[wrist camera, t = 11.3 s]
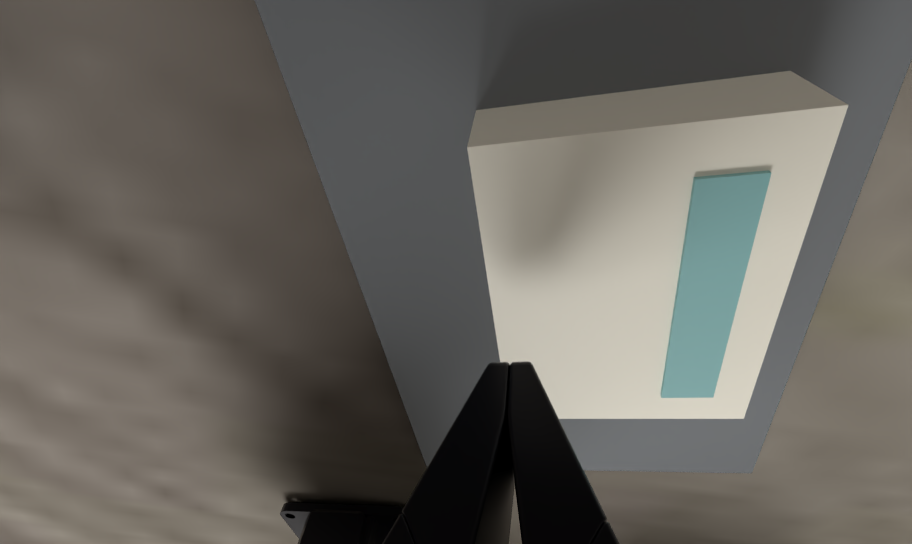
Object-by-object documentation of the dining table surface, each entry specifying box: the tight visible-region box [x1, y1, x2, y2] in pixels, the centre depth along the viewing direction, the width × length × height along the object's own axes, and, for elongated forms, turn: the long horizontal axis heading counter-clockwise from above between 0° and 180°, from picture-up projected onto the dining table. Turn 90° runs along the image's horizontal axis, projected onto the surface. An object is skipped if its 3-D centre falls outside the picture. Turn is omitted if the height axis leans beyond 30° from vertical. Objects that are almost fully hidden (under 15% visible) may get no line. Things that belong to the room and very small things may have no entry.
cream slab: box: [467, 71, 848, 419], centre depth 11 cm, size 8×2×6 cm
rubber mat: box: [255, 0, 912, 473], centre depth 13 cm, size 18×12×1 cm, turn 9°
